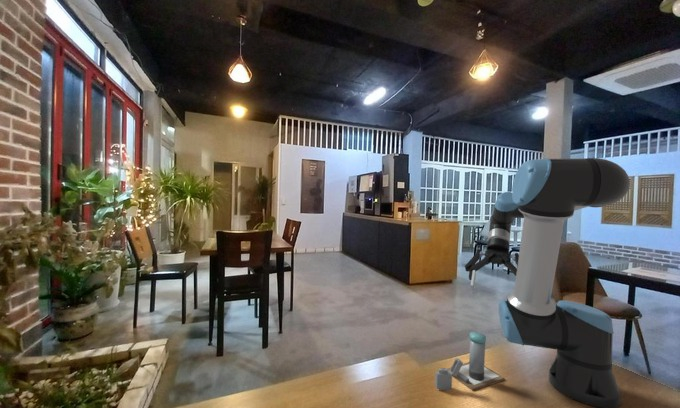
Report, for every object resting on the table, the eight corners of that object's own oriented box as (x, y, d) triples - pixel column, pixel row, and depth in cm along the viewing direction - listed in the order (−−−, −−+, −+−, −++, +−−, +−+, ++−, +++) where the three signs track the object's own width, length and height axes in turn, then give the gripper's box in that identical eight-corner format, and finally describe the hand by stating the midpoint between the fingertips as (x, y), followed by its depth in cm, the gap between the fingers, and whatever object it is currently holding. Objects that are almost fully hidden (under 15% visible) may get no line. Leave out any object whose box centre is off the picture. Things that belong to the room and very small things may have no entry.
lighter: (436, 390, 77) (437, 360, 77) (434, 386, 78) (435, 357, 78) (462, 390, 77) (463, 361, 77) (459, 386, 79) (460, 357, 79)
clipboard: (504, 379, 82) (504, 374, 82) (472, 391, 77) (473, 385, 77) (475, 362, 91) (475, 357, 91) (445, 371, 86) (445, 365, 86)
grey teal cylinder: (487, 378, 81) (489, 337, 81) (477, 382, 79) (478, 339, 80) (475, 371, 85) (476, 331, 85) (465, 373, 83) (466, 333, 83)
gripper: (537, 252, 104) (537, 304, 91) (464, 246, 118) (456, 290, 105) (538, 239, 100) (538, 292, 87) (462, 234, 113) (453, 278, 101)
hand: (493, 291), depth 96 cm, fingers open, 13 cm apart
